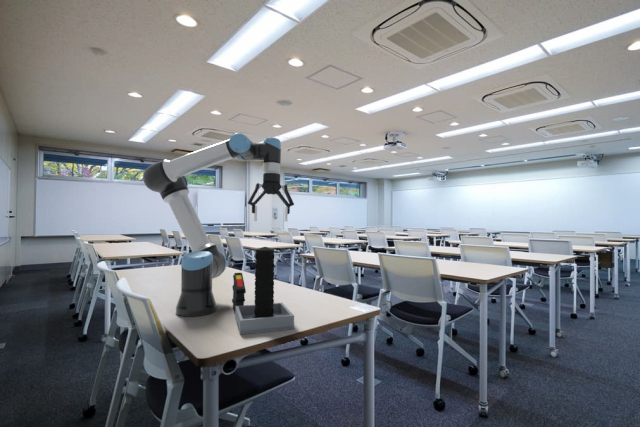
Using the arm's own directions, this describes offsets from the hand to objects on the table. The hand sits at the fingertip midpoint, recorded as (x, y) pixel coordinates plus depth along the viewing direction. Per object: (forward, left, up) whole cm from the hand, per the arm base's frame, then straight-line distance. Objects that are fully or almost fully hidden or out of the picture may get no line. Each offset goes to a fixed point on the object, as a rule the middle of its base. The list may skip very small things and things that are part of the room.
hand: (270, 221), depth 141 cm
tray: (-7, -25, -37) cm, 45 cm away
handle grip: (-7, -25, -36) cm, 44 cm away
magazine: (-14, -7, -37) cm, 40 cm away
